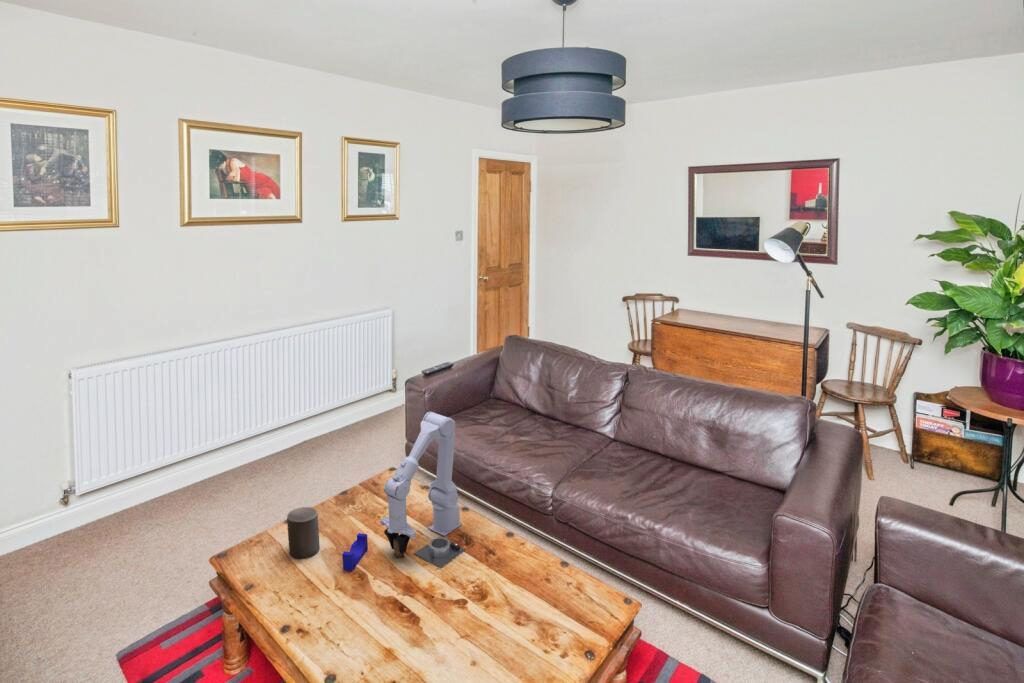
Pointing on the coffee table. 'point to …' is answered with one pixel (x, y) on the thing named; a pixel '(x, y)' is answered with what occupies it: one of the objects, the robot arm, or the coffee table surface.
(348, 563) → the cable clip
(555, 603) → the coffee table surface
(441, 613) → the coffee table surface
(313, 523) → the pillar candle
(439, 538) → the cup bracket
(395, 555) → the dowel
